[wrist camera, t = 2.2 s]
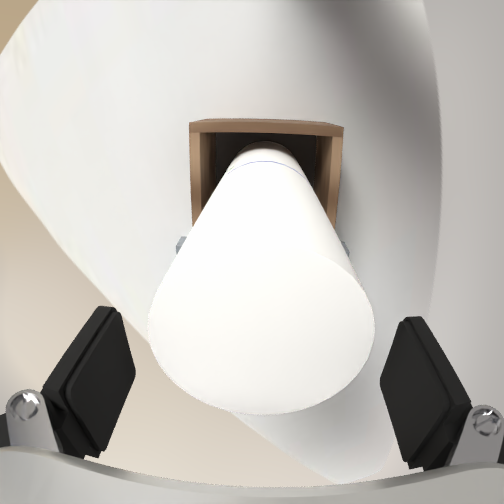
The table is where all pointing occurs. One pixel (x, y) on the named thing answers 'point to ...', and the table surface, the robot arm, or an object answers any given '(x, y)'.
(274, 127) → the walnut box
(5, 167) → the table surface
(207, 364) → the cylindrical container
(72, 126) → the table surface
